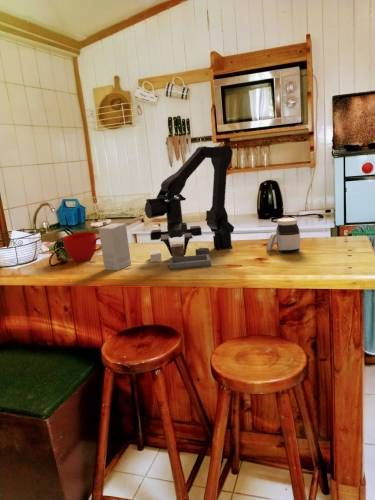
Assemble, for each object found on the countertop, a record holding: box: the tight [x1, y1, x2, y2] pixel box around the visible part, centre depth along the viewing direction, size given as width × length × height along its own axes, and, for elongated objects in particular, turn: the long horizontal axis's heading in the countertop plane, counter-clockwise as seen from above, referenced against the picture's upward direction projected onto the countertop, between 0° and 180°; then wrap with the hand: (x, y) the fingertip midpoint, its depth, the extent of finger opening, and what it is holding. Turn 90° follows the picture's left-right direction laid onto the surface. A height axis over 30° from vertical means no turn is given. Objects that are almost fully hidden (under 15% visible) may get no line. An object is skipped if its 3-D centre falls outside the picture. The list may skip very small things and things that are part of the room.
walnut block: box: [170, 242, 185, 258], centre depth 150 cm, size 4×4×5 cm
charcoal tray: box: [168, 253, 212, 271], centre depth 140 cm, size 14×9×2 cm, turn 91°
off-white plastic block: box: [149, 249, 162, 263], centre depth 151 cm, size 4×6×3 cm, turn 5°
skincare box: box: [98, 222, 132, 271], centre depth 144 cm, size 8×7×16 cm
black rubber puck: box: [195, 247, 211, 258], centre depth 148 cm, size 5×5×3 cm
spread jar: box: [266, 217, 301, 255], centre depth 144 cm, size 12×11×12 cm
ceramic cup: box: [62, 231, 102, 263], centre depth 161 cm, size 13×17×10 cm
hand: (178, 255), depth 150 cm, fingers closed on walnut block, 4 cm apart
